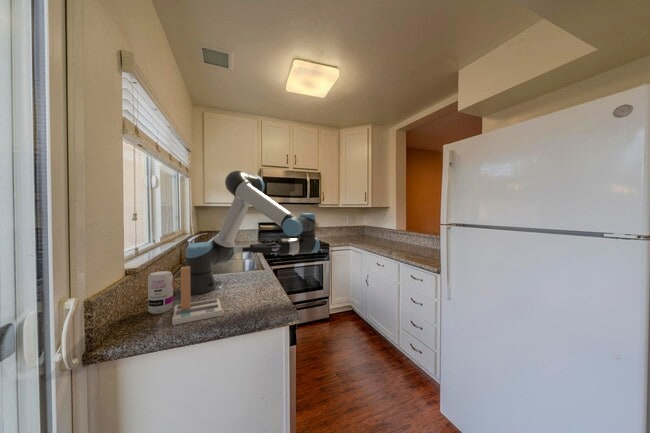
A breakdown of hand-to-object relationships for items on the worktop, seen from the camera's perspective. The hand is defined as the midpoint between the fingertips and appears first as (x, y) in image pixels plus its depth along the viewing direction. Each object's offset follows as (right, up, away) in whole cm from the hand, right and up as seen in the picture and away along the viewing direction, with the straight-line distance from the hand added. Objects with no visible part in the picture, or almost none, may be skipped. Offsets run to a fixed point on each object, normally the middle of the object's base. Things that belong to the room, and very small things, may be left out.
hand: (233, 249), depth 98 cm
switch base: (-12, -24, -5) cm, 27 cm away
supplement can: (-28, -24, -3) cm, 37 cm away
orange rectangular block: (-15, -22, -8) cm, 28 cm away
